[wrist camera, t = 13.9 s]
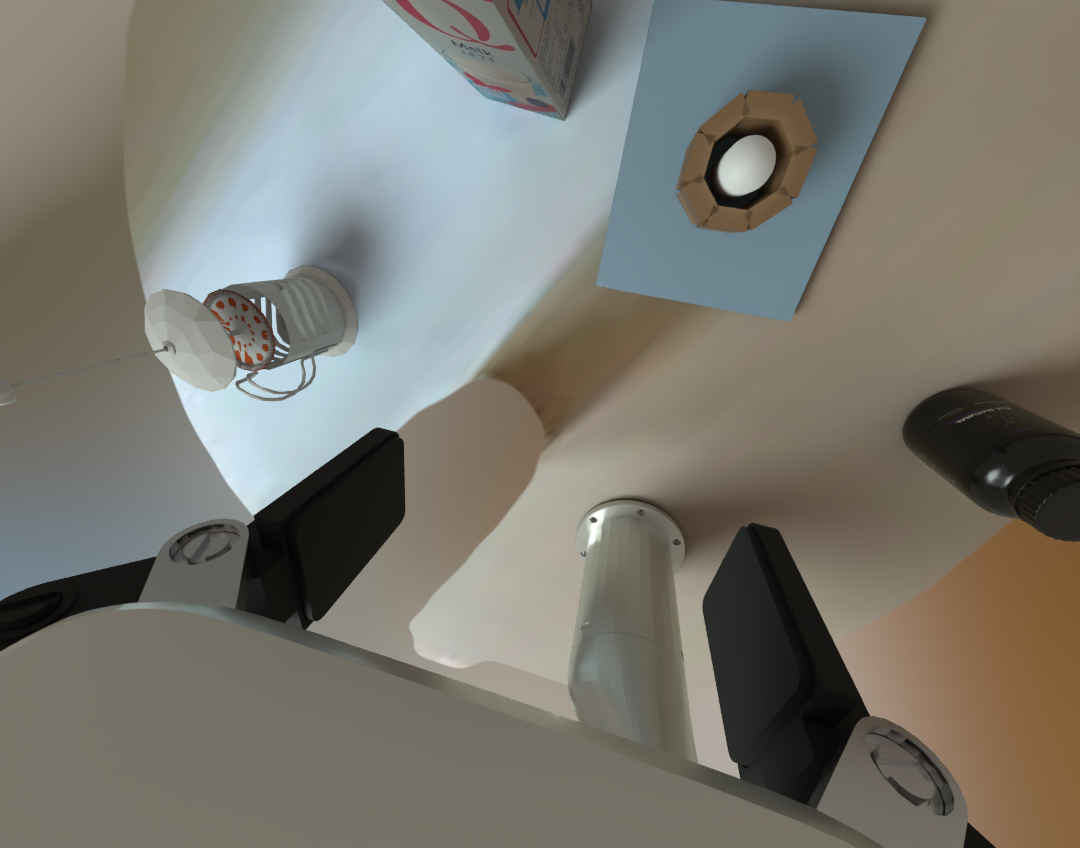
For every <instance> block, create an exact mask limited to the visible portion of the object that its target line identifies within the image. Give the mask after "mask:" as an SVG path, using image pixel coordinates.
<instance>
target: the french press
mask: <svg viewBox="0 0 1080 848" xmlns="http://www.w3.org/2000/svg"><path fill="white" fill-rule="evenodd" d="M261 297H265V301H266V317H265V316H264V314H263V313H262V312H261ZM249 299H255V304H254V303H253V302H252V301H250V300H249ZM271 302H272V303H273V305H274V306H275V307H276V324H277V333H278V334H279V336H280V337H281V339H282V340H283V342H285V343H286V344H288V345H290V348H287V347H285V346H284V345H282V344H280V343H279V342H278V340H277V339H276V337H275V336H274V335H273V330H272V310H271ZM357 331H358V323H357V314H356V310H355V308H354V305H353V303H352V301H351V299H350V296H349V294H348V293H347V291H346V290H345V289H344V288H343V287H342V286H341V284H340V283H339V282H338V281H337V280H336V279H335V278H334V277H333V276H331V275H329V274H328V273H326V272H325V271H323V270H321V269H320V268H316V267H309V266H300V267H297V268H295V269H292V270H290V271H289V272H288V273H287V274H286V276H285V277H284V279H279V280H270V281H261V282H252V283H243V284H234V285H229V286H228V287H226V288H224V289H223V290H222V289H219V290H217V291H214V292H212V293H209V294H208V296H207V298H206V299H205V301H204V303H203V304H202V303H201V302H199V301H198V300H196V299H195V298H193V297H192V296H190V295H188V294H186V293H182V292H177V291H172V290H167V289H163V290H161V291H159V292H156V293H154V294H152V295H150V297H149V299H148V301H147V303H146V305H145V332H146V334H147V337H148V339H149V342H150V344H151V346H152V349H153V351H151V352H147V353H143V354H138V355H134V356H130V357H125V358H121V359H117V360H113V361H108V362H104V363H99V364H95V365H91V366H87V367H82V368H78V369H74V370H69V371H65V372H61V373H57V374H52V375H48V376H44V377H40V378H35V379H31V380H27V381H23V382H18V383H14V384H8V383H7V382H6V381H5V380H4V379H3V378H2V377H1V376H0V406H2V405H6V404H10V403H13V402H15V400H16V395H15V393H14V391H13V389H12V387H16V386H20V385H23V384H28V383H33V382H37V381H41V380H45V379H49V378H54V377H58V376H61V375H66V374H70V373H75V372H79V371H83V370H87V369H91V368H96V367H100V366H104V365H108V364H113V363H117V362H121V361H125V360H129V359H133V358H138V357H142V356H146V355H150V354H155V355H156V356H157V357H158V358H159V359H160V360H161V362H163V364H164V365H166V367H167V368H168V369H169V370H170V371H171V372H172V373H173V374H174V375H176V376H177V377H179V378H180V379H182V380H184V381H185V382H187V383H189V384H190V385H192V386H194V387H195V388H198V389H202V390H206V391H210V392H214V391H218V390H221V389H225V388H226V387H227V386H228V385H229V384H230V382H231V381H232V380H233V379H234V378H235V376H236V367H239V368H241V369H244V370H249V371H254V372H252V373H249V374H247V377H246V378H244V379H242V380H239V381H236V387H237V389H238V390H240V391H241V392H243V393H245V394H246V395H248V396H250V397H252V398H256V399H259V400H263V401H281V400H284V399H287V398H289V397H291V396H293V395H295V394H296V393H297V392H299V391H301V390H303V389H305V388H306V387H307V386H308V385H310V384H311V383H312V381H313V379H314V377H315V371H316V365H315V361H314V356H317V355H323V356H329V357H334V356H338V355H341V354H345V353H346V352H347V351H348V350H349V349H350V348H351V347H352V345H353V344H354V342H355V339H356V335H357ZM275 346H277V347H279V348H281V349H282V350H284V351H286V352H289V353H288V354H284V353H281V352H279V351H277V350H275ZM274 354H276V355H279V356H283V357H285V358H282V359H281V358H277V357H274ZM304 357H305V358H304ZM301 358H302V359H301ZM309 358H311V359H312V364H313V375H312V377H311V379H310V380H309V382H308V383H306V384H305V385H304V383H305V376H306V373H305V368H304V364H303V362H304V360H306V359H309ZM299 359H301V367H302V373H303V375H302V382H301V384H300V385H299V387H298V388H297V389H296V390H294V391H286V392H277V391H273V390H270V389H266V388H263V387H260V386H259V385H257V384H256V383H255V382H253V381H252V380H251V378H253V377H255V376H256V375H257V374H258V372H257V371H258V370H261V369H268V370H270V369H273V368H276V367H279V366H282V365H284V364H287V363H290V362H293V361H296V360H299ZM272 360H274V361H273V362H271V361H272ZM255 371H256V372H255ZM245 381H248V382H249V383H250V384H252V385H254V386H255V387H257V388H259V389H261V390H262V391H266V392H270V393H274V394H288V395H286V396H284V397H279V398H263V397H259V396H256V395H252V394H250V393H248V392H246V391H245V390H243V389H241V388H240V387H239V384H241V383H243V382H245ZM303 385H304V386H303ZM302 386H303V387H302Z"/></svg>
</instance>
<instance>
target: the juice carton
mask: <svg viewBox="0 0 1080 848" xmlns="http://www.w3.org/2000/svg"><path fill="white" fill-rule="evenodd" d="M382 1H383V2H384V3H385V4H386V5H387V6H389V7H390V8H391V9H392V10H393V11H394V12H395V13H396V14H397V15H398V16H399V17H400V18H401V19H402V20H403V21H404V22H405V23H407V24H408V25H409V26H410V27H411V28H412V29H413V30H414V31H415V32H416V33H417V34H418V35H419V36H420V37H421V38H422V39H423V40H425V41H426V42H427V43H428V44H429V45H430V46H431V47H432V48H433V49H434V50H435V51H436V52H437V53H438V54H439V55H440V56H442V57H443V58H444V59H445V60H446V61H447V62H448V63H449V64H450V65H451V66H452V67H453V68H454V69H455V70H456V71H457V72H458V73H460V74H461V75H462V76H463V77H464V78H465V79H466V80H467V81H468V82H469V83H470V84H471V85H472V86H473V87H474V88H475V89H476V90H478V91H479V92H480V93H481V94H482V95H483V96H484V97H485V98H488V99H492V100H495V101H498V102H502V103H505V104H509V105H512V106H515V107H519V108H522V109H526V110H529V111H532V112H536V113H539V114H542V115H546V116H549V117H553V118H556V119H559V120H563V121H564V120H565V116H566V112H567V108H568V103H569V99H570V95H571V91H572V87H573V83H574V79H575V74H576V70H577V66H578V62H579V58H580V54H581V49H582V45H583V41H584V37H585V33H586V29H587V25H588V20H589V16H590V12H591V8H592V5H591V0H382Z"/></svg>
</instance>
